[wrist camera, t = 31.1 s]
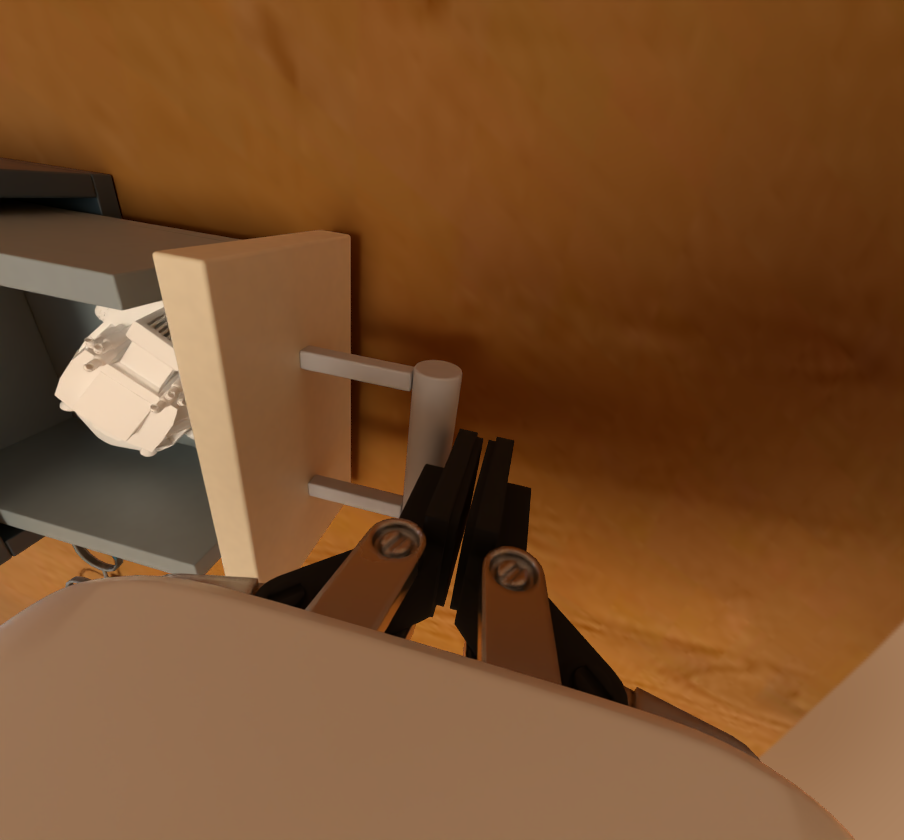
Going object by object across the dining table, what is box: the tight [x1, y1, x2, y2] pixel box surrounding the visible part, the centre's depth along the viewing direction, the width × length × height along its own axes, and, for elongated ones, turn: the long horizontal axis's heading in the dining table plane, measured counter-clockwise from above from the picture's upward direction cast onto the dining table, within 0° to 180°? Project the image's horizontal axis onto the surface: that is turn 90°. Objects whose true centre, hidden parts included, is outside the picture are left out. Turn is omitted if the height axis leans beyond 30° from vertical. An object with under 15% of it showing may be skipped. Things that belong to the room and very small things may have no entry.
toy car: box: [55, 300, 194, 457], centre depth 14 cm, size 5×8×4 cm, turn 132°
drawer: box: [0, 198, 462, 583], centre depth 14 cm, size 19×11×7 cm, turn 83°
